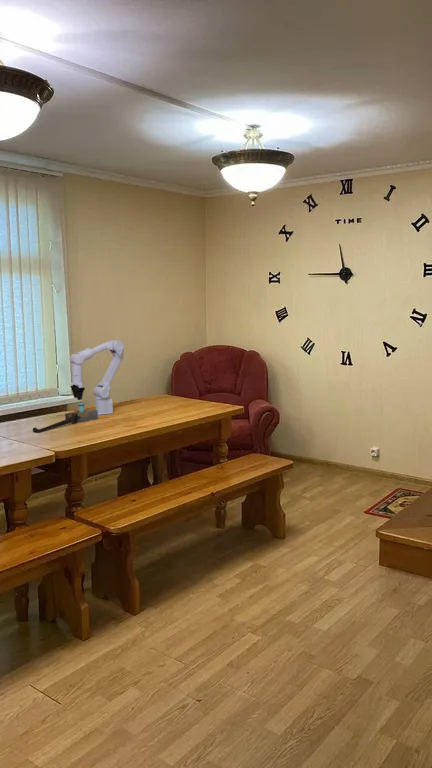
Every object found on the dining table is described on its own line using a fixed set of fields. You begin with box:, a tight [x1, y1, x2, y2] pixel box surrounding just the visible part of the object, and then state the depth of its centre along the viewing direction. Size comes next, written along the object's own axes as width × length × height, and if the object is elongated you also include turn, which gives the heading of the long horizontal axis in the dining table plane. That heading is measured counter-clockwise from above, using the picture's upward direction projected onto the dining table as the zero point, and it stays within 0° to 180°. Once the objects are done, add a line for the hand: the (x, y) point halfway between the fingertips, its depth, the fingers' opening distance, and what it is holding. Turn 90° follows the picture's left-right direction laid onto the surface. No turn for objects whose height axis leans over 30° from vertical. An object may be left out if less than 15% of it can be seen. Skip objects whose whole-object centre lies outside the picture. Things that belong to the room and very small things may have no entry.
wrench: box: [32, 414, 81, 434], centre depth 330 cm, size 5×5×30 cm
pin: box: [77, 402, 86, 413], centre depth 345 cm, size 4×4×10 cm
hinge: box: [64, 409, 99, 423], centre depth 345 cm, size 18×6×5 cm, turn 117°
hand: (77, 398), depth 355 cm, fingers open, 7 cm apart
